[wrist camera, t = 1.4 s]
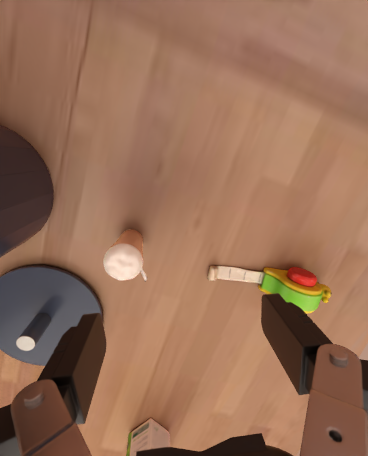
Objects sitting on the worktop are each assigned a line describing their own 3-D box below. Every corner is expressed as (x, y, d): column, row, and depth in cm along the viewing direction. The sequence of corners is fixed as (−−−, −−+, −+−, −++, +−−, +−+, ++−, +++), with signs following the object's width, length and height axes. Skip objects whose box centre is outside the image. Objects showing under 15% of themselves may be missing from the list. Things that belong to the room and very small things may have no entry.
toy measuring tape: (313, 301, 42) (339, 327, 36) (203, 287, 40) (211, 312, 33) (326, 268, 41) (356, 289, 34) (212, 250, 38) (221, 269, 32)
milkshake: (144, 260, 38) (138, 296, 28) (111, 246, 37) (92, 279, 27) (157, 234, 37) (155, 263, 27) (123, 219, 36) (108, 243, 26)
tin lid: (-33, 331, 39) (-69, 363, 33) (16, 242, 35) (-14, 259, 29) (71, 375, 43) (56, 410, 37) (124, 298, 39) (117, 324, 33)
